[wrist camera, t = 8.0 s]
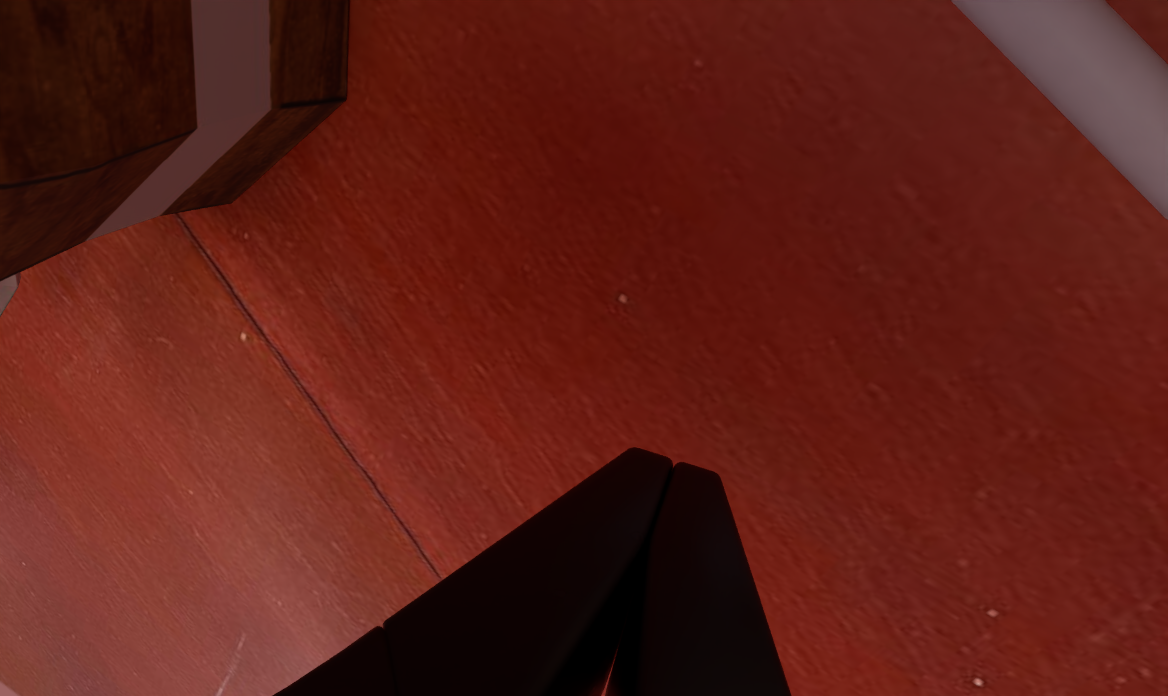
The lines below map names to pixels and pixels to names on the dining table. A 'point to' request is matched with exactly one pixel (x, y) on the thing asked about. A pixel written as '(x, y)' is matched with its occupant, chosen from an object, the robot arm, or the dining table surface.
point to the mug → (150, 109)
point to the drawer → (1090, 78)
